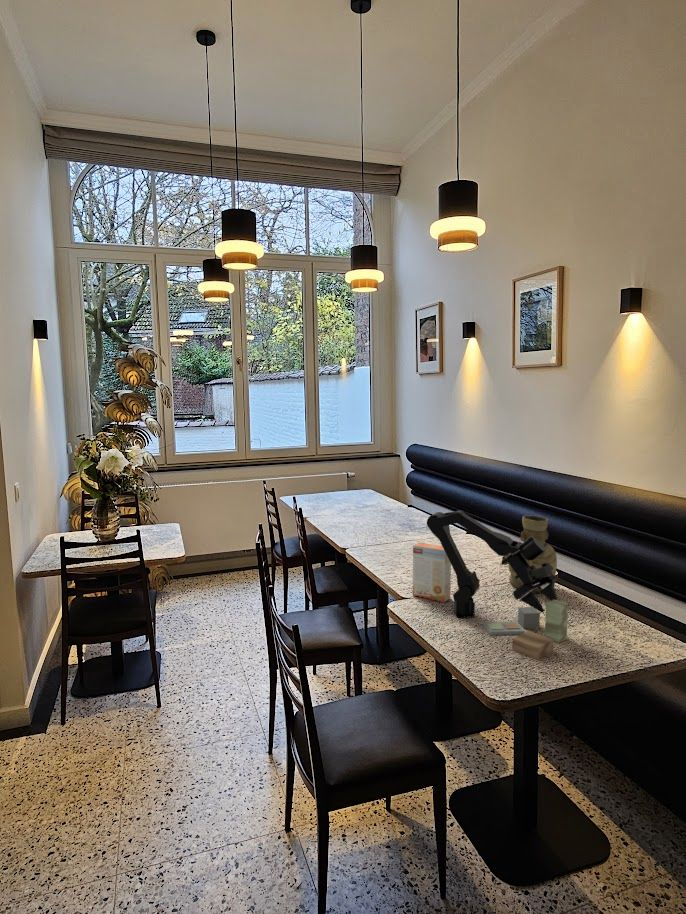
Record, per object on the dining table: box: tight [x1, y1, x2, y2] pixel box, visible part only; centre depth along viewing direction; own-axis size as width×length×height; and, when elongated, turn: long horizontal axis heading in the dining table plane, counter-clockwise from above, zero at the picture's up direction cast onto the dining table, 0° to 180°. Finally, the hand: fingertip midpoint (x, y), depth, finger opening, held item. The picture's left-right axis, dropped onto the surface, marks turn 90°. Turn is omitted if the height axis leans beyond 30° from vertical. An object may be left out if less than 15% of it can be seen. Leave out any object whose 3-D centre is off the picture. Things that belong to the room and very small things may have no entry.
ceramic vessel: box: [502, 515, 558, 594], centre depth 240 cm, size 19×21×30 cm
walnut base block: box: [511, 630, 555, 660], centre depth 185 cm, size 9×9×4 cm
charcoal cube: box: [517, 606, 541, 630], centre depth 204 cm, size 6×6×6 cm
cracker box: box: [412, 542, 452, 603], centre depth 230 cm, size 14×6×21 cm, turn 56°
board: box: [482, 621, 526, 636], centre depth 201 cm, size 12×8×1 cm, turn 94°
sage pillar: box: [544, 599, 569, 644], centre depth 193 cm, size 5×5×12 cm
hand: (550, 608), depth 194 cm, fingers open, 9 cm apart
